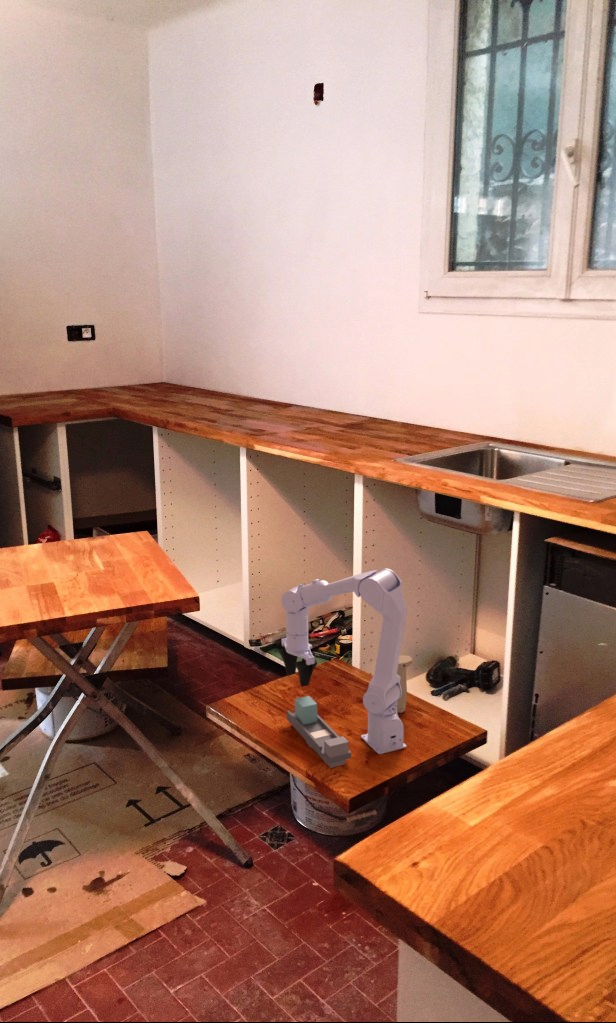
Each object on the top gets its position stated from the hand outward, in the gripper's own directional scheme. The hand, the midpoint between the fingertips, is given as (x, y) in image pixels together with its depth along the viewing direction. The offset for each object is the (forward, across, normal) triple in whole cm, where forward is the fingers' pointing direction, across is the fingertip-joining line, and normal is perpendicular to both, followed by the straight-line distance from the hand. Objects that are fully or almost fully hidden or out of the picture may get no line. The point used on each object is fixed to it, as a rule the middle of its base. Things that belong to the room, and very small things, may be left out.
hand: (297, 679), depth 225 cm
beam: (+10, -15, +3) cm, 19 cm away
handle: (+11, -11, -25) cm, 29 cm away
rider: (+7, -8, +2) cm, 11 cm away
